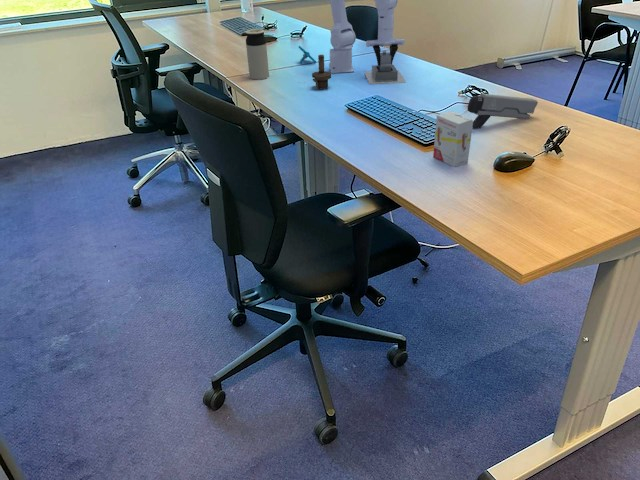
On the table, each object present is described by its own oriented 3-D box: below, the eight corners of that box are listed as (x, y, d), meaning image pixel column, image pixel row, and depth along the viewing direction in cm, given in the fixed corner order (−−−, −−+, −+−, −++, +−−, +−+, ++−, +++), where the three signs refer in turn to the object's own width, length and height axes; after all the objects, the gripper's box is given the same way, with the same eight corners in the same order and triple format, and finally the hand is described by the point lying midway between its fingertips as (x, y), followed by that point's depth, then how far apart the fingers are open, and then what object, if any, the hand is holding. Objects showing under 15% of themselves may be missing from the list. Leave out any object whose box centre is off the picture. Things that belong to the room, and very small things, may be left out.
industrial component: (315, 91, 192) (313, 58, 186) (309, 86, 198) (307, 54, 192) (338, 88, 195) (338, 55, 188) (332, 83, 201) (331, 51, 194)
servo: (381, 74, 199) (381, 55, 195) (377, 68, 207) (378, 49, 203) (391, 74, 199) (392, 54, 195) (387, 68, 207) (388, 49, 204)
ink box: (431, 156, 139) (435, 114, 132) (445, 152, 141) (450, 110, 134) (454, 167, 132) (459, 123, 126) (468, 163, 134) (474, 119, 128)
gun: (459, 125, 154) (469, 92, 150) (522, 130, 164) (533, 98, 160) (464, 128, 152) (475, 94, 148) (528, 132, 163) (539, 100, 158)
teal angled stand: (318, 61, 224) (300, 45, 220) (309, 72, 225) (291, 56, 222) (316, 59, 234) (299, 43, 230) (307, 69, 235) (291, 53, 232)
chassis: (369, 84, 198) (369, 74, 196) (364, 73, 211) (364, 64, 209) (405, 82, 198) (406, 72, 196) (398, 71, 211) (398, 62, 209)
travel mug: (273, 76, 212) (269, 30, 202) (258, 81, 207) (253, 33, 197) (260, 73, 217) (255, 28, 207) (245, 77, 212) (240, 31, 202)
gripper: (367, 31, 191) (367, 68, 198) (406, 29, 191) (405, 66, 199) (365, 27, 197) (365, 64, 204) (403, 25, 197) (401, 62, 205)
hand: (384, 65), depth 202 cm, fingers closed on servo, 4 cm apart
